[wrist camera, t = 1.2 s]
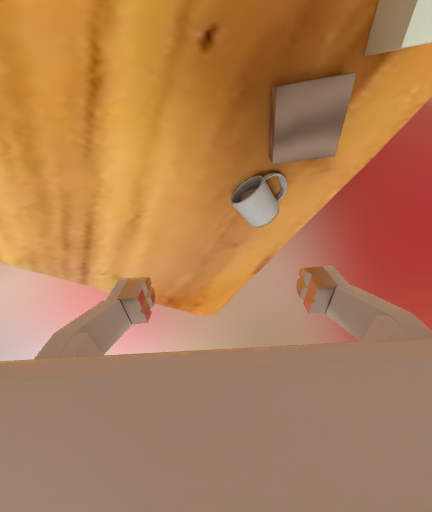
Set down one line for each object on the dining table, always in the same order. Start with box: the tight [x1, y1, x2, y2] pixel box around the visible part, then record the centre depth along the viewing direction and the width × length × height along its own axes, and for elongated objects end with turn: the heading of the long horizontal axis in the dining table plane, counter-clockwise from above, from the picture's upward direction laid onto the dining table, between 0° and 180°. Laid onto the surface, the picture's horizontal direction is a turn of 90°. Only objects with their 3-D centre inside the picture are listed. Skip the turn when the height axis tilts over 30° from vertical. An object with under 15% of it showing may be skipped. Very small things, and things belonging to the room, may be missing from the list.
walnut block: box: [269, 73, 356, 164], centre depth 30 cm, size 10×10×5 cm
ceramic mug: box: [231, 173, 287, 228], centre depth 38 cm, size 11×8×8 cm
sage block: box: [364, 0, 432, 56], centre depth 22 cm, size 5×5×8 cm
